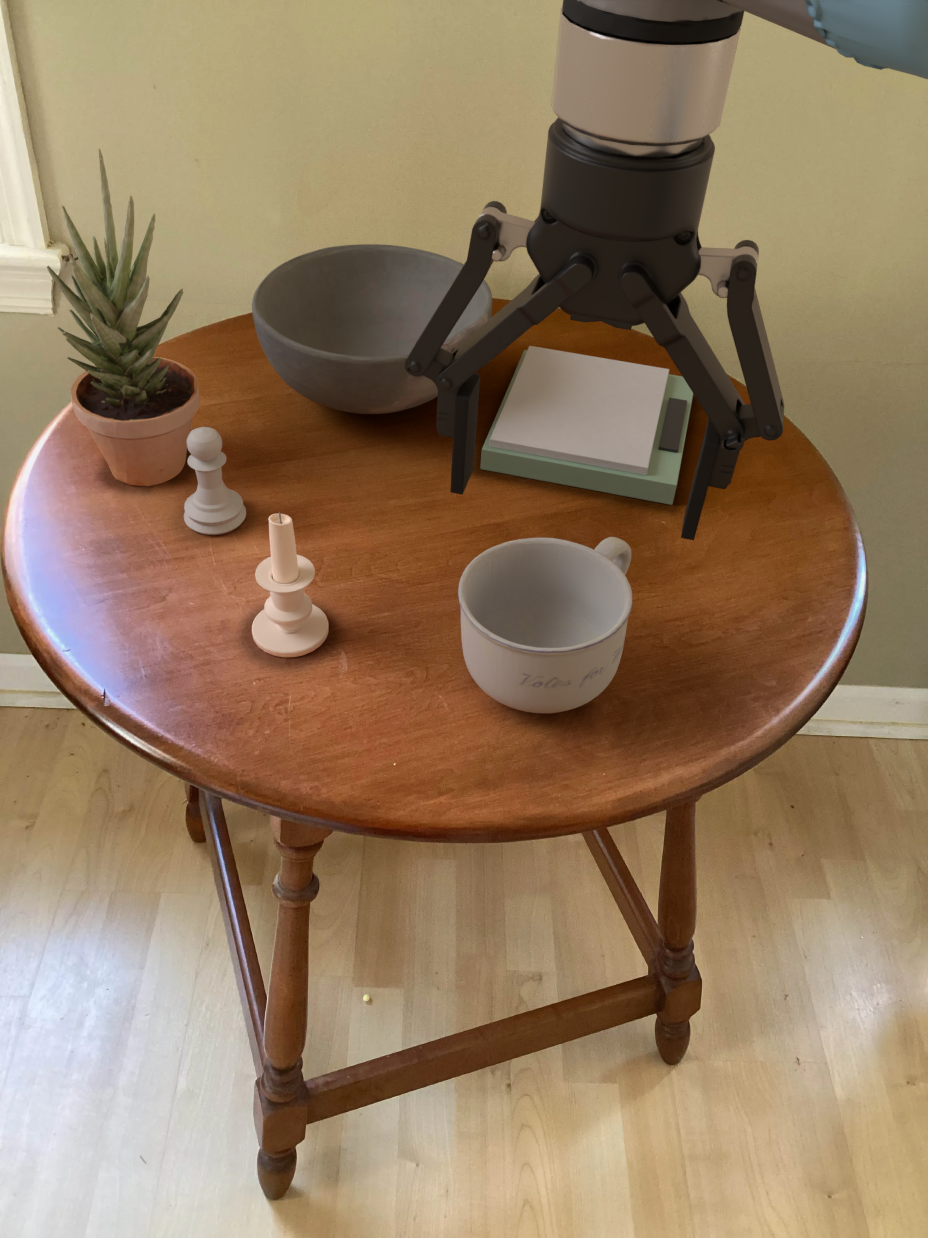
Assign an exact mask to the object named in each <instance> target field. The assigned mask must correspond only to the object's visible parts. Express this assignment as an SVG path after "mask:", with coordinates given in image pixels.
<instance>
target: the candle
mask: <svg viewBox="0 0 928 1238" xmlns="http://www.w3.org/2000/svg"><path fill="white" fill-rule="evenodd" d="M267 520H268V536H269V537H268V539H269V548H270V549H269V550H270V556H268V557H267V558H264V560H262V561H261V562H260V563H259V564H258V565H257V567H256V569H255V574H254V578H255V581H256V583H257V584H258V585H259V587H261V588H263V589H264V590H266V591H269V594H270V595H269V597H267V599H266V600H265V602H264V607H263V609H262V610H261V611H259V613H257V615H256V616H255V617H254V619H253V622H252V625H251V634H252V635H251V636H252V638H253V642H254V643H255V645H256V646H257V647H258V648H259V649H261V650H262V651H263V652H265V653H267V654H270V655H272V656H275V657H280V658H297V657H302V656H305V655H307V654H309V653H312V652H314V651H315V650H316V649H318V648H320V647H321V646H322V644H324V642H325V641H326V640H327V638H328V635H329V620H328V617H327V615H326V614H325V612H324V611H323V610H322V609H321V608H319V607H318V606H317V605H315V604H313V601H312V599H311V597H310V596H309V595H308V594H306V593H305V588H307V587H308V586H309V585H310V584H311V583H312V582H313V580H314V578H315V575H316V569H315V566H314V563H312V562H311V560H310V559H308V558H307V557H305V556H303V555H300V554H298V553H297V545H296V536H295V530H294V523H293V519H292V517H291V516H290V515H288V514H286V513H281V511H278V513H273V514H271V515H269V517H268V519H267Z"/></svg>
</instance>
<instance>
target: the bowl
mask: <svg viewBox="0 0 928 1238" xmlns="http://www.w3.org/2000/svg"><path fill="white" fill-rule="evenodd" d="M463 265H464V263H462V262H459V261H458V260H455V259H452V258H451V257H447V256H445V255H442V254H439V253H435V252H432V251H428V250H423V249H420V248H413V247H410V246H409V247H408V246H401V245H393V244H381V243H379V244H378V243H377V244H376V243H364V244H363V243H361V244H344V245H336V246H335V245H334V246H329V247H323V248H320V249H316V250H313V251H310V252H306V253H303V254H301V255H298V256H295V257H293V258H291V259H289V260H287V261H285V262H283V263H281V264H280V265H278V266H277V267H275V268H273V270H271V271H269V273H268V274H267V275H266V276H265V277H264V278H263V280H261V282H260V283H259V284H258V286H257V288H256V290H254V294H253V297H252V301H251V311H252V312H251V313H252V319H253V324H254V329H255V332H256V335H257V336H256V337H257V339H258V341H259V344H260V346H261V349H262V351H263V353H264V356H265V357H266V359H267V360H268V363H269V364H270V365H271V367H272V368H273V370H274V371H275V372H276V374H277V375H278V376H279V378H280V379H282V381H283V382H284V383H285V384H286V385H287V386H289V387H290V388H291V389H292V390H293V391H295V392H296V393H297V394H300V395H301V396H302V397H305V398H306V399H308V400H310V401H312V402H315V403H316V404H319V405H322V406H324V407H326V408H330V409H332V410H336V411H340V412H345V413H350V414H360V415H382V414H391V413H396V412H401V411H406V410H409V409H412V408H416V407H419V406H421V405H423V404H427V403H428V402H430V401H432V400H434V399H436V398H438V390H437V386H436V385H435V383H434V382H433V381H432V380H430V379H429V378H427V377H425V376H423V375H422V376H419V377H414V376H412V375H410V374H409V373H408V372H407V371H406V369H405V361H406V359H407V358H408V356H409V354H410V352H411V351H412V349H413V347H414V345H415V344H416V342H417V340H418V339H419V337H420V335H421V334H422V332H423V330H424V329H425V327H426V326H427V324H428V322H429V321H430V319H431V317H432V316H433V314H434V312H435V311H436V309H437V308H438V306H439V304H440V303H441V301H442V299H443V298H444V296H445V295H446V293H447V291H448V290H449V288H450V286H451V285H452V283H453V281H454V280H455V278H456V277H457V275H458V273H459V272H460V270H461V268H462V267H463ZM492 313H493V294H492V290H491V288H490V286H489V284H488V283H487V281H486V280H485V279H484V280H483V282H482V284H481V285H480V287H479V288H478V290H477V291H476V293H475V295H474V296H473V298H472V299H471V301H470V302H469V304H468V306H467V307H466V309H465V310H464V312H463V313H462V315H461V317H460V318H459V320H458V321H457V323H456V324H455V326H454V328H453V329H452V331H451V332H450V334H449V335H448V337H447V339H446V340H445V342H444V343H443V345H442V346H441V348H442V349H444V350H446V351H448V352H451V350H452V349H453V347H454V348H455V349H456V348H457V347H458V346H460V345H461V344H462V343H463V342H464V341H465V340H466V339H468V338H469V337H470V336H471V335H472V334H473V333H475V332H476V331H477V330H478V329H479V328H480V327H481V326H483V325H484V324H485V323H486V322H487V321H488V320H489V319H491V318H492ZM455 349H454V350H455Z"/></svg>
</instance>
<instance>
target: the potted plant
mask: <svg viewBox="0 0 928 1238" xmlns="http://www.w3.org/2000/svg"><path fill="white" fill-rule="evenodd" d="M98 161H99V162H98V163H99V165H98V166H99V174H100V186H101V188H100V189H101V201H102V211H103V221H104V222H103V223H104V231H105V232H104V233H105V236H104V237H103V243H104V259H105V261H104V259H103V256H102V253H101V252H102V251H101V249H100V247H99V244H98V240H97V237H96V235H92V237H91V238H92V246H93V256H92V254H91V253H90V252H89V250H88V247H87V246H86V244H85V243H84V241H83V239H82V238H81V235H80V233H79V231H78V229H77V228H76V225H75V224H74V222H73V220H72V219H71V217H70V215H69V213H68V211H67V209H66V208H65V206H64V205H61V209H62V213H63V219H64V223H65V226H66V229H67V232H68V234H69V237H70V239H71V242H72V245H73V248H74V250H75V253H76V256H77V259H78V261H79V263H80V265H81V267H80V266H79V264H78V263H77V261H76V260H75V259H74V258H73V255H71V254H68V256H67V257H68V259H69V264H70V269H71V271H72V274H73V275H72V274H70V278H71V281H72V284H73V287H74V289H75V292H76V293H75V292H74V291H73V290H72V289H71V288H70V287H69V286H68V285H67V284H66V283H65V282H64V280H62V278H61V277H60V276H59V275H58V273H56V272H55V271H54V270H53V269H52V268H51V266H50V265H47V266H46V269H47V271H48V273H49V275H50V276H51V278H52V280H53V281H54V282H55V284H56V286H57V287H58V289H59V290H60V291H61V293H62V294H63V296H64V297H65V298H66V300H67V301H68V302H69V304H70V305H71V307H73V309H74V310H75V311H76V313H77V314H78V315H79V316H80V317H79V316H78V315H77V314H76V313H75V312H74V311H73V310H72V309H69V310H68V311H69V313H70V314H71V316H72V318H73V320H74V321H75V322H76V324H77V325H78V326H79V327H80V328H81V330H82V331H83V332H84V333H85V335H86V336H87V337H88V338H89V339H90V341H89V340H87V339H84V338H81V337H79V336H77V335H75V334H72V333H70V332H68V331H66V330H64V329H63V328H61V327H60V326H58V327H57V330H59V332H60V333H61V335H63V337H65V341H67V343H68V344H70V345H71V347H72V348H74V349H75V350H76V351H77V352H78V353H79V354H80V355H82V357H84V358H85V359H86V360H88V361H89V362H90V363H92V364H93V365H91V364H89V363H87V362H84V361H81V360H78V359H75V358H72V357H70V356H67V357H66V359H67V360H69V361H71V362H72V363H74V364H75V365H77V366H78V367H80V368H81V369H83V371H84V372H82V373H81V374H79V375H78V376H76V378H75V380H73V382H72V385H71V388H70V391H69V392H70V400H71V404H72V408H73V412H74V415H75V416H76V419H78V421H79V423H80V424H81V425H83V426H84V427H86V428H87V429H88V431H89V433H90V435H91V437H92V438H93V441H94V442H95V444H96V446H97V447H98V449H99V450H100V452H101V454H102V456H103V458H104V460H105V462H106V464H107V465H108V467H109V470H110V472H111V474H112V476H113V477H114V479H115V480H117V481H120V482H121V483H124V484H125V485H129V486H137V487H138V486H139V487H151V486H157V485H160V484H163V483H166V482H168V481H171V480H172V479H174V478H175V477H176V476H178V475H179V474H180V473H181V472H182V470H183V469H184V466H185V464H186V462H187V461H186V460H187V453H188V448H187V438H188V435H189V434H190V432H191V431H192V430H191V429H192V426H193V425H192V424H193V418H194V416H195V415H196V413H197V411H198V409H199V407H200V387H199V386H200V384H199V380H198V379H199V378H198V377H197V376H196V375H195V373H194V372H193V371H192V369H190V368H188V367H187V366H185V365H184V364H182V363H180V362H178V361H175V360H172V359H169V358H164V357H160V356H155V353H156V350H157V348H158V346H159V344H160V342H161V340H162V338H163V336H164V334H165V332H166V329H167V326H168V324H169V321H170V320H171V318H172V316H173V315H174V313H175V311H176V310H177V307H178V306H179V303H180V302H181V299H182V297H183V294H184V289H183V287H182V288H181V289H179V291H178V292H177V293H176V294H175V295H174V297H173V298H172V300H171V301H170V303H168V305H167V306H166V308H165V309H164V311H163V312H162V314H161V315H160V316H159V317H158V318H156V319H153V320H152V321H150V322H148V323H146V324H143V325H140V326H139V323H140V320H141V317H142V313H143V310H144V307H145V304H146V301H147V298H148V295H149V288H150V276H149V275H147V273H148V272H147V271H148V263H149V262H148V261H149V256H150V251H151V247H152V244H153V240H154V231H155V229H156V228H155V224H156V212H154V213H153V214H152V216H151V218H150V221H149V223H148V227H147V229H146V232H145V235H144V237H143V240H142V242H141V244H140V248H139V250H138V253H137V255H136V258H135V260H134V262H133V264H132V261H133V253H134V252H133V251H134V237H135V203H134V197H133V196H132V195H130V196H129V200H128V203H127V209H126V216H125V220H124V225H123V230H122V236H121V241H120V247H119V252H118V246H117V238H116V237H117V236H116V229H115V228H116V227H115V221H114V216H113V215H114V214H113V206H112V202H111V192H110V189H109V188H110V187H109V180H108V177H107V171H106V166H105V163H104V156H103V153H102V150H101V148H98Z"/></svg>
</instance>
